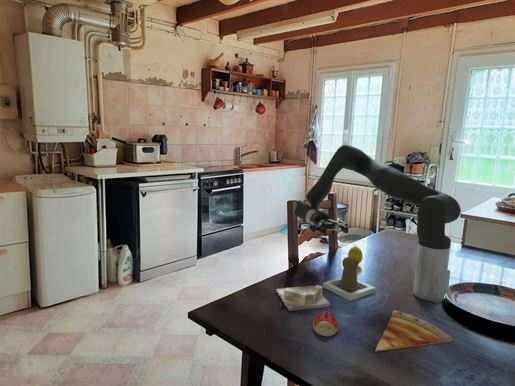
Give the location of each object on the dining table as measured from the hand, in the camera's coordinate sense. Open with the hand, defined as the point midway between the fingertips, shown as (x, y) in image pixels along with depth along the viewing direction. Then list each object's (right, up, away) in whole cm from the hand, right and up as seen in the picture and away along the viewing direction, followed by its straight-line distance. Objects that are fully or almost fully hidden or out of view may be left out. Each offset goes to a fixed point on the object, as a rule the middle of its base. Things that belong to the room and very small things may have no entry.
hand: (336, 231), depth 129 cm
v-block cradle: (-14, -20, -15) cm, 29 cm away
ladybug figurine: (-10, -23, -32) cm, 40 cm away
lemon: (+10, -15, +14) cm, 23 cm away
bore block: (+2, -19, -8) cm, 20 cm away
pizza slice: (+9, -24, -32) cm, 41 cm away
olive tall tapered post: (+2, -19, -8) cm, 21 cm away
